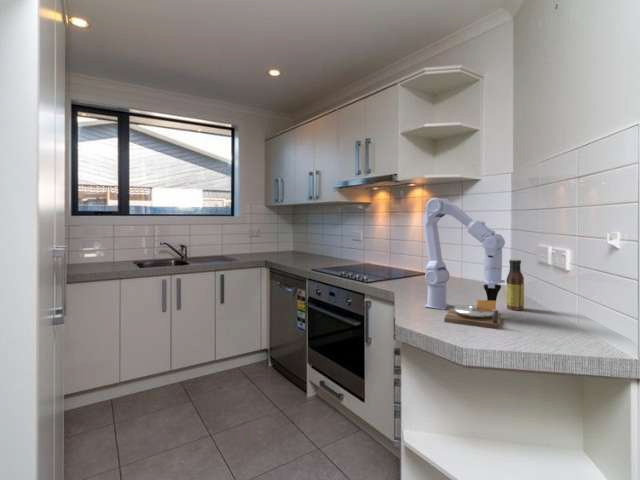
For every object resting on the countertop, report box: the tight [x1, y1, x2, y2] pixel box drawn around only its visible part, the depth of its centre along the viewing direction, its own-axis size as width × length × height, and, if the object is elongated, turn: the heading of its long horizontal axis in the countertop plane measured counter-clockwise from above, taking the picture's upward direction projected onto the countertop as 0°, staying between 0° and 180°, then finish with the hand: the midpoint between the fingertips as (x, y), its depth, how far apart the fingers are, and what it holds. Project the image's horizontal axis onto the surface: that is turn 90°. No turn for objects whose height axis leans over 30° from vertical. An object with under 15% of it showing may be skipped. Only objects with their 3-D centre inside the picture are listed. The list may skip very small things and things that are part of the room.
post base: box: [443, 307, 502, 330], centre depth 125 cm, size 16×17×6 cm
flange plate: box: [453, 299, 497, 317], centre depth 125 cm, size 13×13×4 cm
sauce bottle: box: [505, 258, 525, 311], centre depth 140 cm, size 7×6×20 cm
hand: (491, 304), depth 128 cm, fingers closed
